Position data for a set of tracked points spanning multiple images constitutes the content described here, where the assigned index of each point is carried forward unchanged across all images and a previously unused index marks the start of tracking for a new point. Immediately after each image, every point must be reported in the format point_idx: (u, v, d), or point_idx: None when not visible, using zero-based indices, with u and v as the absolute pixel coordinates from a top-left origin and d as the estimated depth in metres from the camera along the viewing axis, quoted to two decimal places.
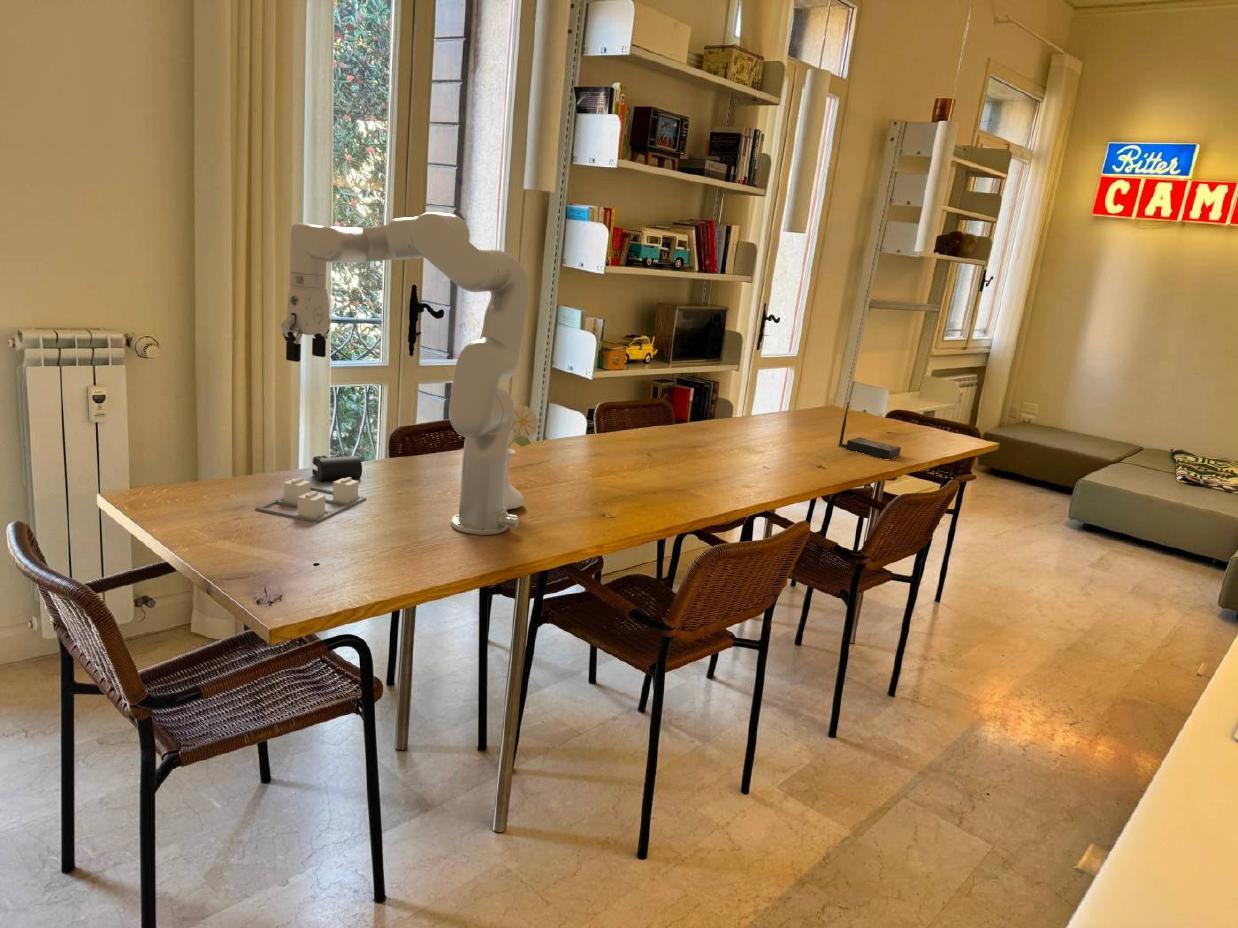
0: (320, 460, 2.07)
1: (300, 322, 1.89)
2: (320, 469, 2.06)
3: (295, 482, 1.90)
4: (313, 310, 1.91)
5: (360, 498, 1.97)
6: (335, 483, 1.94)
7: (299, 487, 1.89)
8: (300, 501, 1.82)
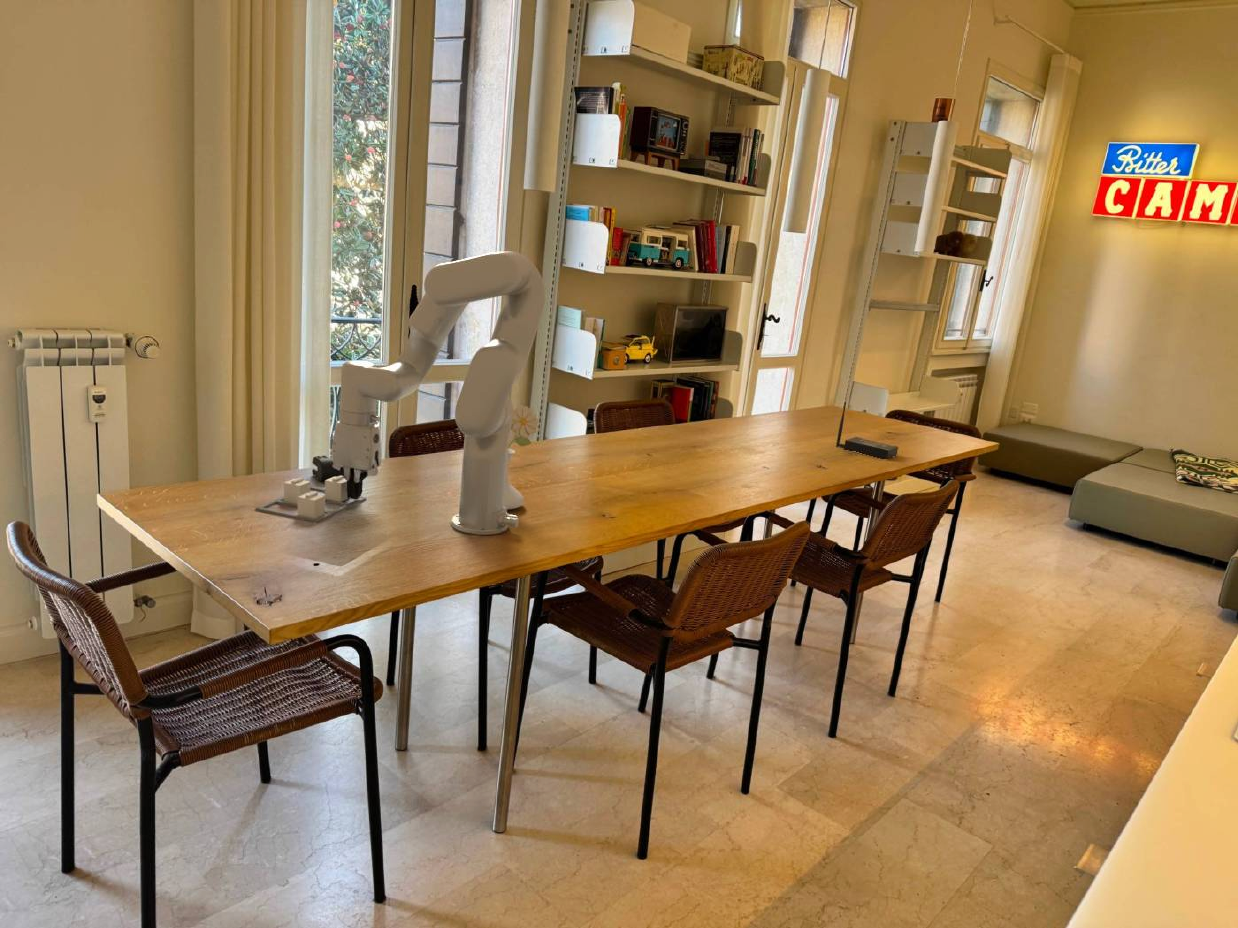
0: (320, 460, 2.07)
1: (380, 456, 1.94)
2: (320, 469, 2.06)
3: (295, 482, 1.90)
4: None
5: (360, 498, 1.97)
6: (327, 481, 1.95)
7: (299, 487, 1.89)
8: (300, 501, 1.82)
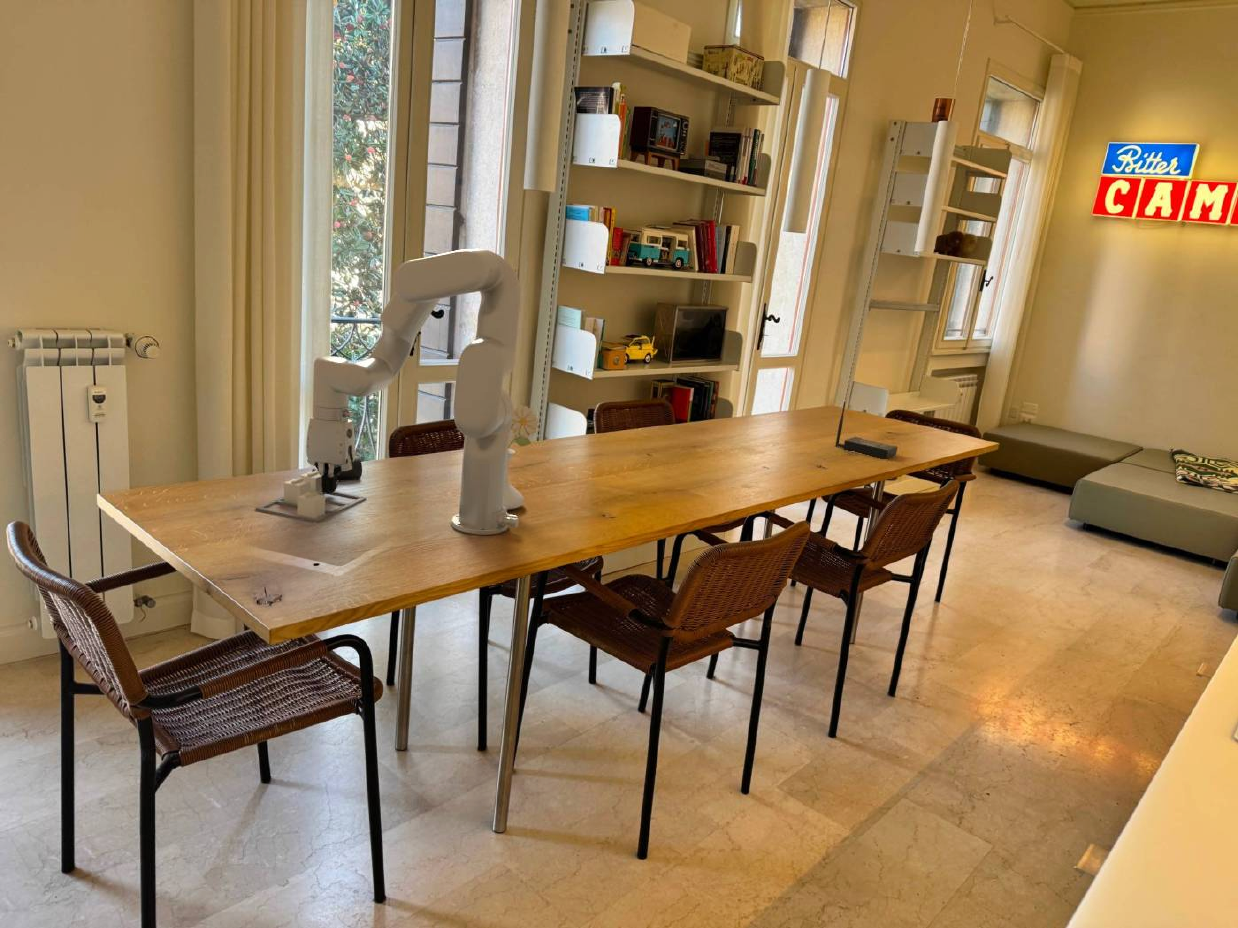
0: None
1: (354, 451, 1.95)
2: None
3: (295, 482, 1.90)
4: None
5: (360, 498, 1.97)
6: (302, 476, 1.96)
7: (299, 487, 1.89)
8: (300, 501, 1.82)
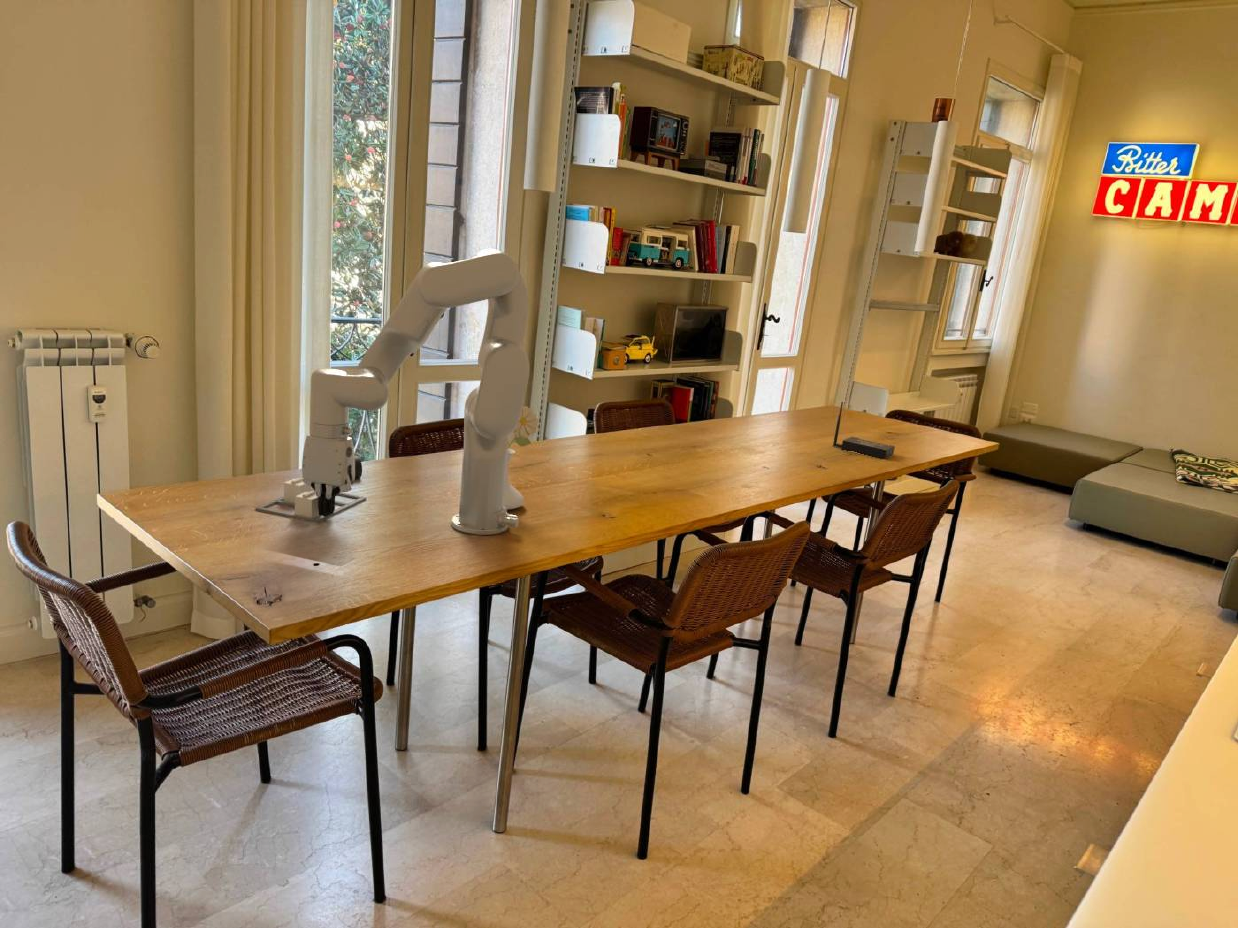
0: None
1: (353, 471, 1.81)
2: None
3: (295, 482, 1.90)
4: None
5: (360, 498, 1.97)
6: None
7: (299, 487, 1.89)
8: (297, 501, 1.82)
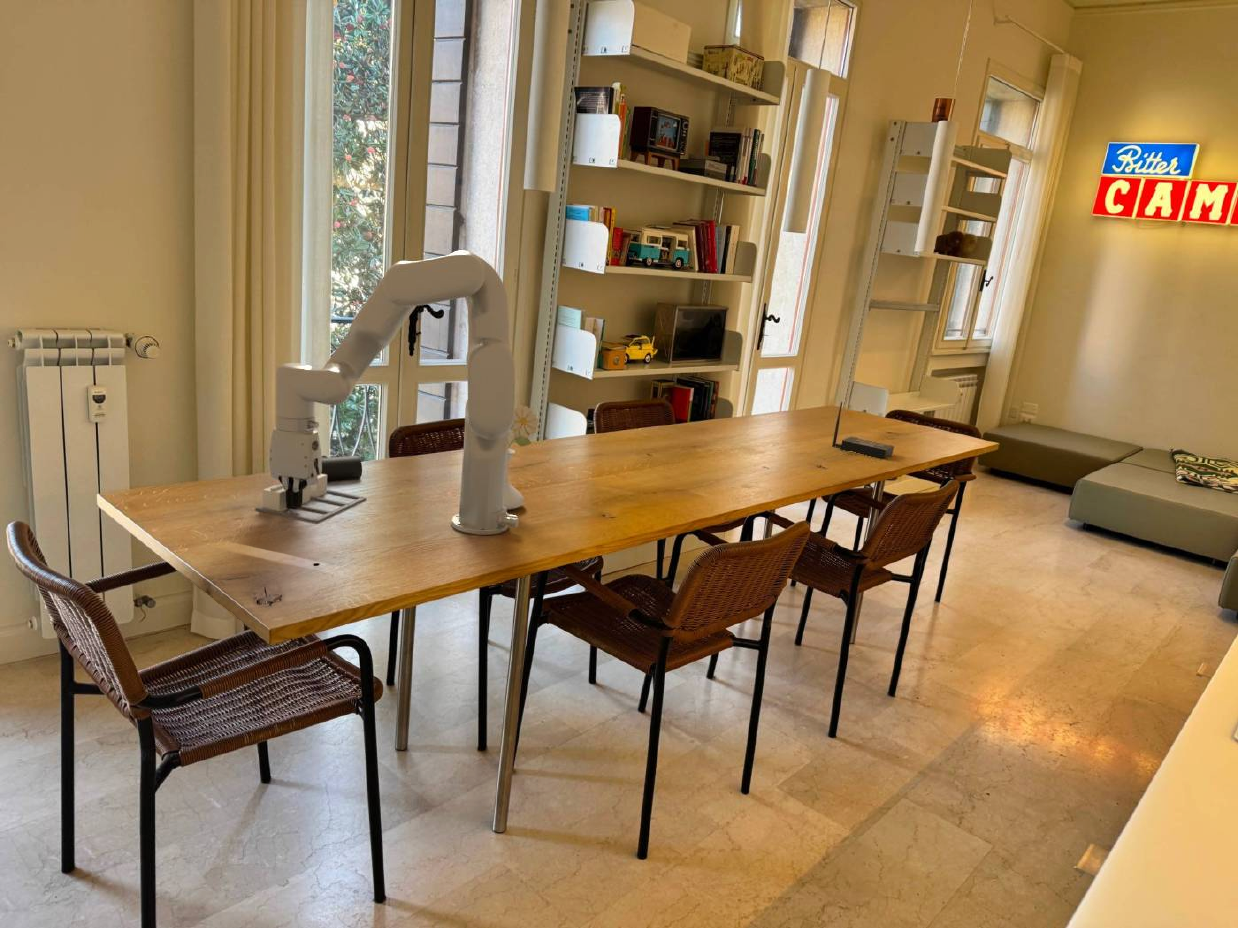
0: None
1: (320, 464, 1.83)
2: None
3: None
4: None
5: (360, 498, 1.97)
6: None
7: None
8: (265, 494, 1.84)
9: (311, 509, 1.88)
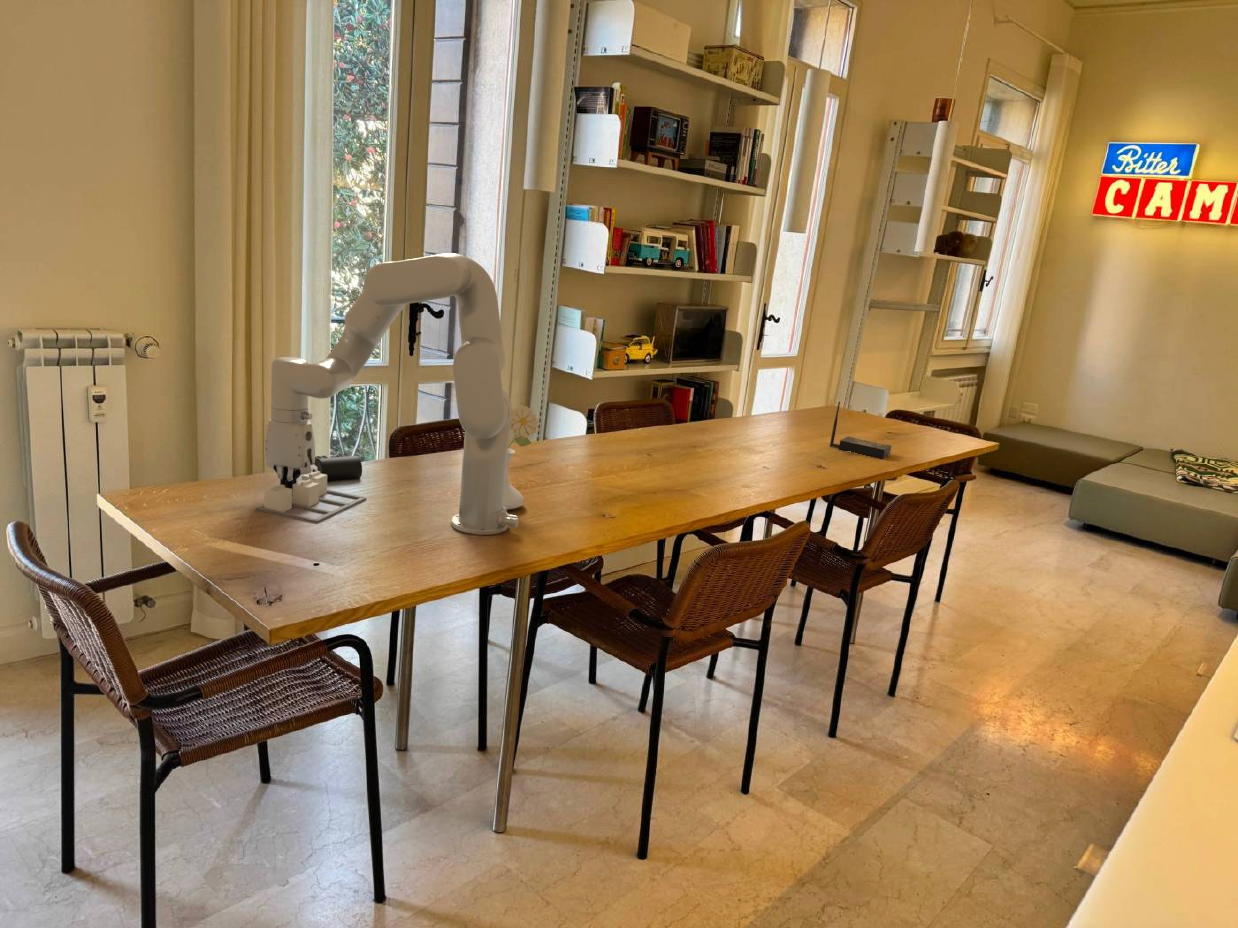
0: (320, 460, 2.07)
1: (313, 454, 1.91)
2: (320, 469, 2.06)
3: (304, 484, 1.89)
4: None
5: (360, 498, 1.97)
6: (303, 477, 1.96)
7: (308, 489, 1.89)
8: (267, 494, 1.84)
9: (311, 509, 1.88)
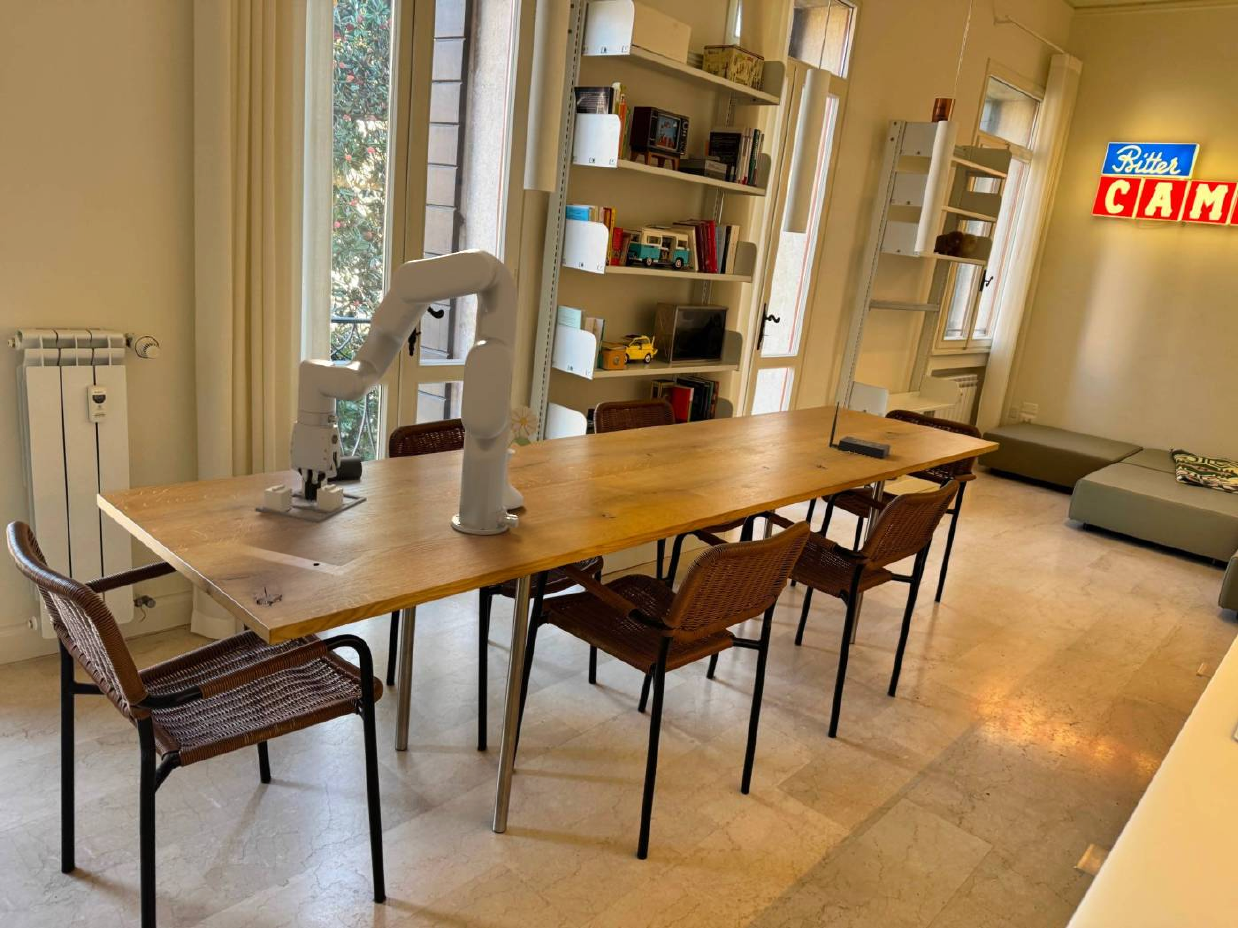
0: None
1: (339, 458, 1.89)
2: None
3: (328, 489, 1.88)
4: None
5: (360, 498, 1.97)
6: None
7: (332, 494, 1.87)
8: (267, 494, 1.84)
9: (311, 509, 1.88)
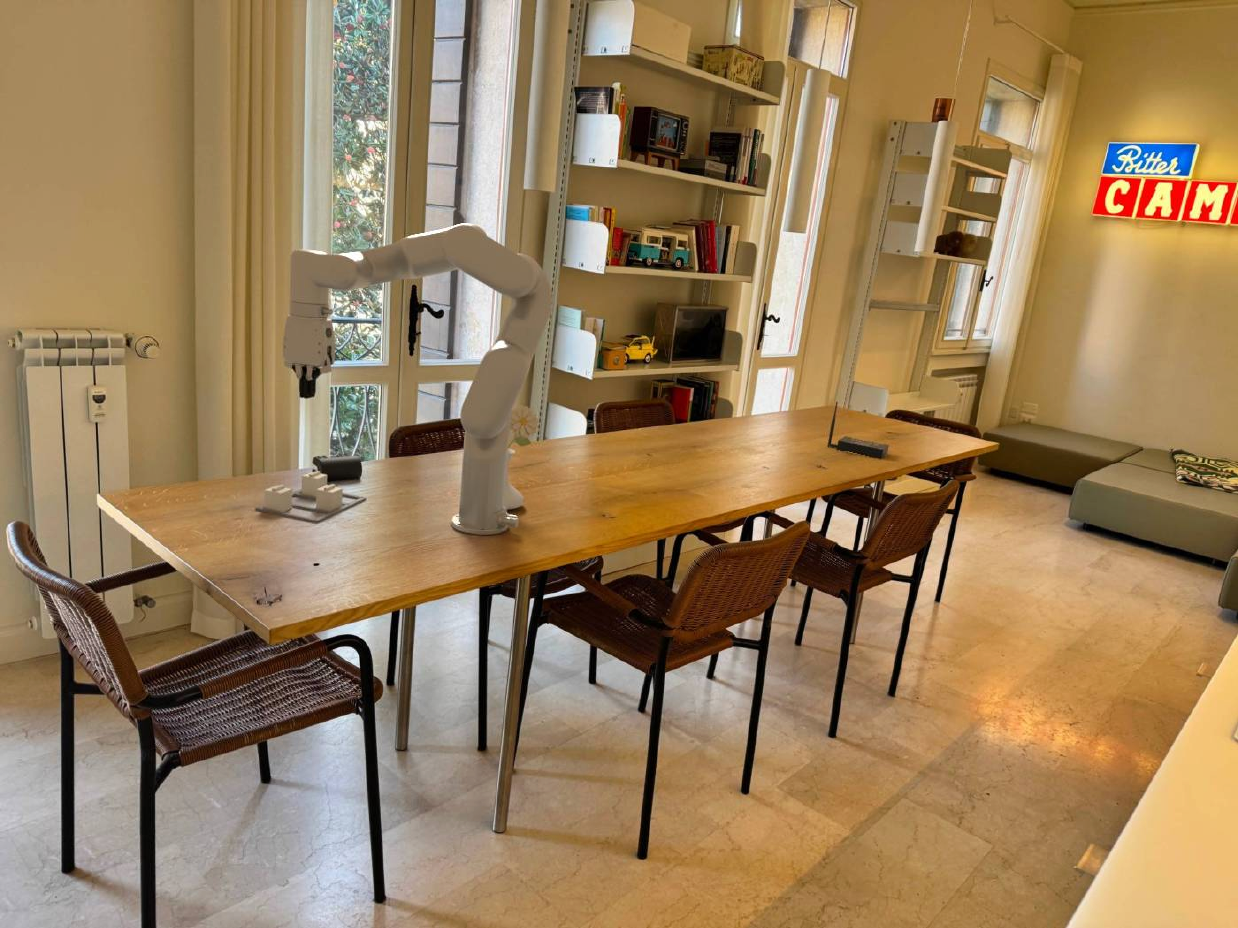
0: (320, 460, 2.07)
1: (333, 353, 1.84)
2: (320, 469, 2.06)
3: (328, 489, 1.88)
4: None
5: (360, 498, 1.97)
6: (303, 477, 1.96)
7: (332, 494, 1.87)
8: (267, 494, 1.84)
9: (311, 509, 1.88)
